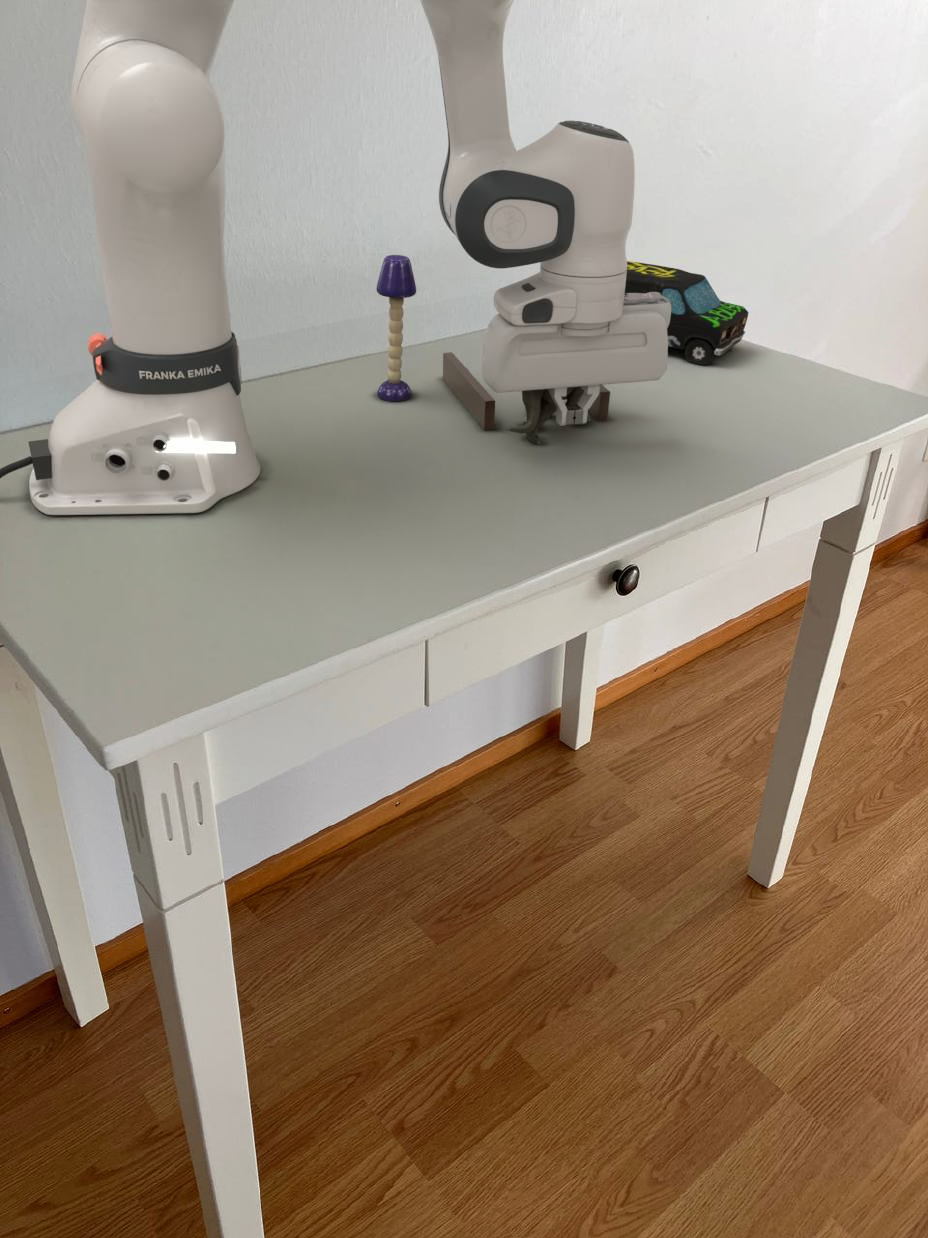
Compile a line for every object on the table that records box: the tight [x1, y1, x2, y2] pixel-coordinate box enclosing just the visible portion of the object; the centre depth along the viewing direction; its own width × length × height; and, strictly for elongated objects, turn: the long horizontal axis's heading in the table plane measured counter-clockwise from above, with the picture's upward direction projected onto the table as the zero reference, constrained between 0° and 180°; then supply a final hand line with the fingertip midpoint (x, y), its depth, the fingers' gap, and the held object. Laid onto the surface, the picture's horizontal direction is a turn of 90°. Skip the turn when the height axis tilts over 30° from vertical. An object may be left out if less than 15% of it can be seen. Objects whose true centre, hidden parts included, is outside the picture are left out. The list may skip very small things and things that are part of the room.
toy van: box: [625, 260, 750, 366], centre depth 146 cm, size 11×25×10 cm, turn 57°
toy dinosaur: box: [506, 386, 591, 445], centre depth 116 cm, size 22×8×11 cm, turn 137°
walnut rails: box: [442, 351, 611, 431], centre depth 126 cm, size 15×18×4 cm
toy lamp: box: [376, 254, 417, 402], centre depth 122 cm, size 5×5×17 cm
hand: (571, 422), depth 113 cm, fingers closed
